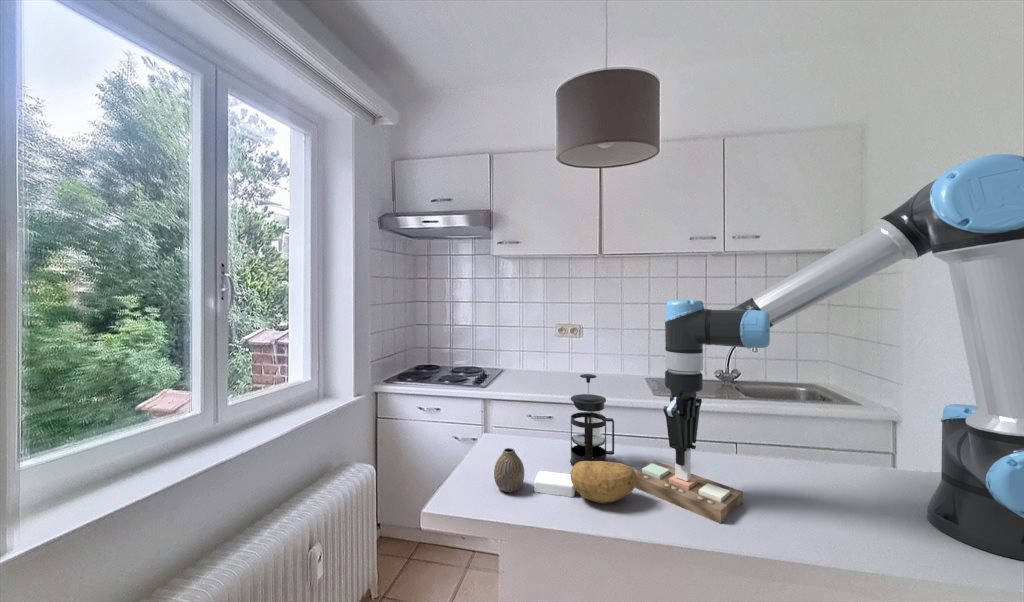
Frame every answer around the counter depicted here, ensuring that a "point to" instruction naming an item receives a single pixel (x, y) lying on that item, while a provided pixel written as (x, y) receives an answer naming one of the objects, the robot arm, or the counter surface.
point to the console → (690, 494)
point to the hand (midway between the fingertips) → (682, 477)
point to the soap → (554, 484)
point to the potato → (603, 480)
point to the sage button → (656, 471)
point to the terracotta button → (683, 482)
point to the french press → (589, 428)
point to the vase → (509, 471)
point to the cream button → (714, 492)
